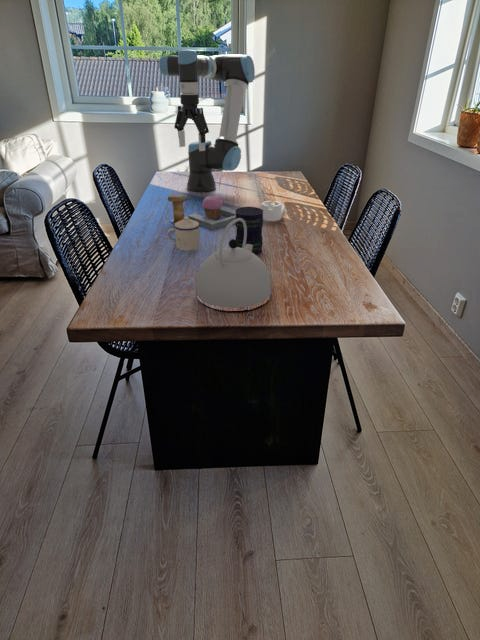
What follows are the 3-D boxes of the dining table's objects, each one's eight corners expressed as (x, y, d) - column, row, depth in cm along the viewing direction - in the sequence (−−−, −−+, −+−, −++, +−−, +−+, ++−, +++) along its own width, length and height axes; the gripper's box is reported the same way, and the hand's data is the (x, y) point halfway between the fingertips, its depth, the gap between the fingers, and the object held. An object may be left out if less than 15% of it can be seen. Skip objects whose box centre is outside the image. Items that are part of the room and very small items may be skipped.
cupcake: (226, 217, 196) (226, 194, 191) (216, 223, 190) (216, 199, 185) (209, 214, 200) (208, 192, 195) (199, 219, 193) (198, 197, 188)
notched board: (188, 221, 192) (187, 215, 190) (222, 211, 204) (222, 205, 202) (212, 230, 182) (212, 224, 181) (246, 219, 194) (246, 213, 193)
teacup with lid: (201, 243, 169) (200, 213, 163) (199, 252, 162) (197, 221, 156) (170, 242, 170) (167, 213, 164) (166, 252, 162) (163, 221, 156)
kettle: (219, 269, 149) (217, 203, 137) (283, 281, 141) (287, 212, 130) (182, 302, 129) (176, 228, 118) (254, 318, 122) (256, 240, 110)
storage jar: (243, 257, 157) (243, 216, 150) (230, 248, 165) (230, 209, 157) (267, 253, 161) (268, 212, 154) (254, 244, 169) (255, 205, 161)
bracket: (279, 222, 191) (280, 207, 188) (259, 221, 193) (260, 205, 189) (284, 208, 208) (285, 194, 205) (266, 207, 210) (267, 193, 206)
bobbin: (166, 222, 190) (163, 196, 184) (180, 218, 195) (179, 193, 189) (177, 227, 185) (175, 200, 179) (192, 222, 190) (191, 197, 184)
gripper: (163, 92, 187) (167, 145, 198) (202, 96, 172) (204, 153, 183) (178, 91, 191) (181, 143, 202) (216, 95, 176) (217, 151, 187)
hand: (192, 148), depth 193 cm, fingers open, 13 cm apart
